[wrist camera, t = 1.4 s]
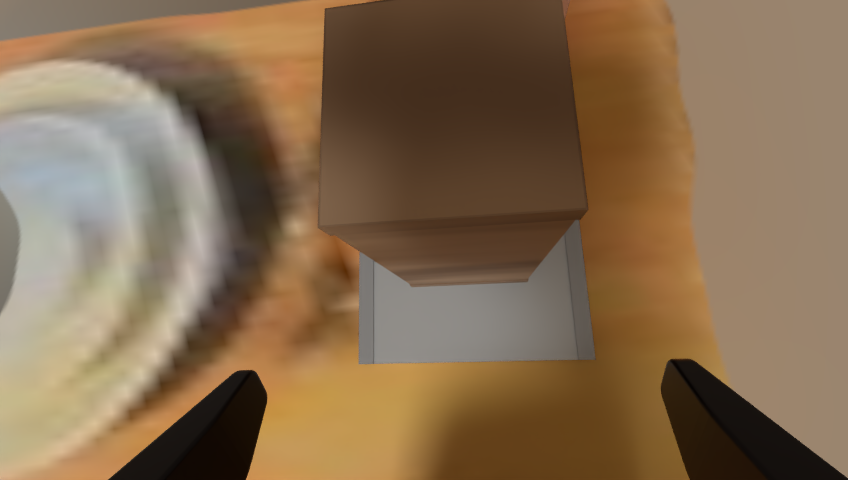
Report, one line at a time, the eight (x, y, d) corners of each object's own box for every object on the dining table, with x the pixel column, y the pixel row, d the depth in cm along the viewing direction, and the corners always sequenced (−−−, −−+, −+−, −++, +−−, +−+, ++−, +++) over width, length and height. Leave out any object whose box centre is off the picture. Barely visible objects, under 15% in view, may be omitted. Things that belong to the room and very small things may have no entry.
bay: (593, 358, 20) (618, 365, 17) (361, 363, 22) (335, 370, 18) (554, 33, 25) (567, -22, 21) (363, 57, 26) (342, 10, 22)
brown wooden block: (526, 282, 21) (588, 209, 9) (412, 287, 22) (317, 227, 10) (517, 173, 23) (558, -25, 10) (409, 181, 23) (324, 8, 11)
